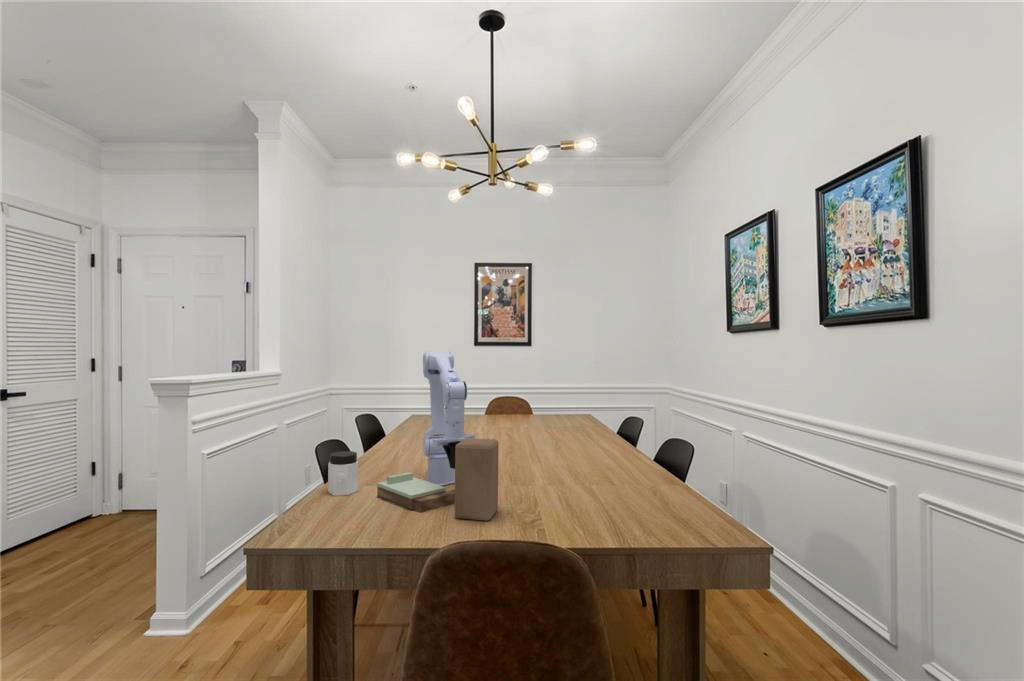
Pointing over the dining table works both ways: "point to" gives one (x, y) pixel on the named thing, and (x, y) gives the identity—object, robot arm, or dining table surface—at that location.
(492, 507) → the block
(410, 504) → the brown wooden tray
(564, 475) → the dining table surface
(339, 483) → the jar
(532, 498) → the dining table surface
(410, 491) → the lid
